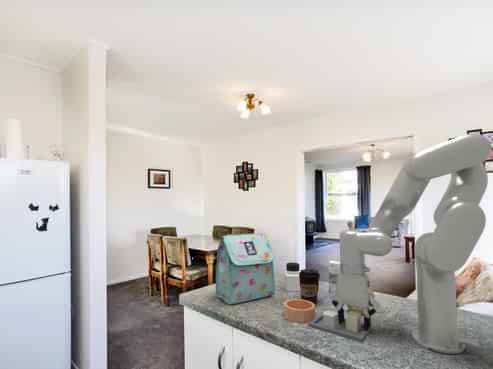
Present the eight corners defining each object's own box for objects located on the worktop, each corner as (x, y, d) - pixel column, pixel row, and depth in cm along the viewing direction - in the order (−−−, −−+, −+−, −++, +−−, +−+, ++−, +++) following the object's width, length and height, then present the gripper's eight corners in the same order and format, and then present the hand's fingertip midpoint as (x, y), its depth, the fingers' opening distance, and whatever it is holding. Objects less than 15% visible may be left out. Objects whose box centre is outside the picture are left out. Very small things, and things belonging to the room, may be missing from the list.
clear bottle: (345, 294, 125) (345, 260, 125) (342, 298, 120) (341, 263, 120) (332, 291, 128) (332, 259, 129) (328, 295, 123) (328, 261, 124)
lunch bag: (229, 308, 108) (230, 237, 109) (212, 295, 122) (213, 232, 124) (278, 297, 120) (278, 233, 121) (257, 287, 134) (257, 230, 135)
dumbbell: (354, 300, 117) (354, 283, 117) (375, 304, 113) (375, 286, 113) (344, 314, 103) (344, 294, 104) (368, 319, 99) (368, 298, 99)
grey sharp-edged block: (338, 327, 91) (338, 313, 91) (333, 332, 88) (333, 317, 88) (327, 324, 93) (327, 310, 93) (323, 328, 90) (322, 314, 90)
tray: (372, 330, 90) (372, 325, 90) (362, 344, 81) (361, 338, 81) (322, 317, 100) (322, 312, 100) (308, 328, 91) (308, 323, 92)
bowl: (319, 316, 100) (319, 303, 101) (306, 326, 92) (306, 312, 92) (293, 309, 107) (293, 297, 107) (278, 318, 99) (278, 305, 99)
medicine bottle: (302, 291, 128) (301, 264, 128) (286, 291, 128) (286, 264, 129) (299, 286, 135) (299, 261, 136) (284, 286, 135) (284, 261, 136)
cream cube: (361, 327, 91) (360, 313, 91) (357, 332, 87) (357, 317, 88) (350, 324, 93) (349, 310, 93) (345, 329, 90) (345, 314, 90)
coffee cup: (320, 308, 108) (320, 273, 109) (298, 306, 110) (298, 272, 111) (319, 300, 117) (319, 268, 118) (299, 298, 118) (298, 267, 119)
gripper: (384, 270, 89) (386, 329, 88) (330, 263, 99) (331, 315, 98) (378, 275, 83) (380, 338, 82) (321, 267, 93) (323, 322, 92)
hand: (353, 325), depth 90 cm, fingers open, 7 cm apart
